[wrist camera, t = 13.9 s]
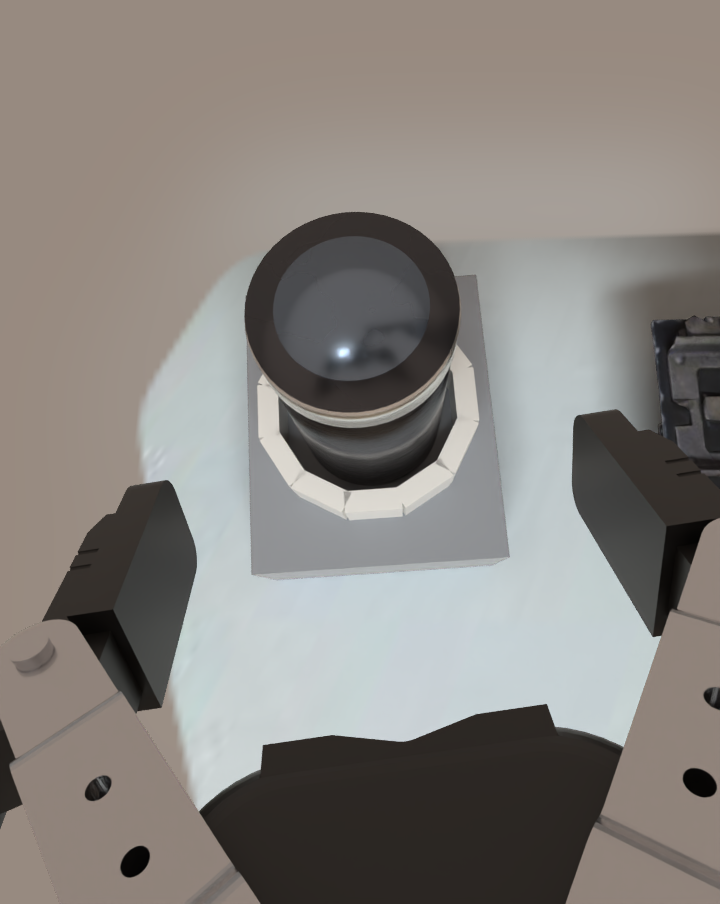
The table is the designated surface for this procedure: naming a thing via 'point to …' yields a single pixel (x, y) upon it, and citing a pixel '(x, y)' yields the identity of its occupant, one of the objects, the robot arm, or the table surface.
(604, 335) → the table surface
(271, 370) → the lens
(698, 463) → the vintage camera
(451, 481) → the grey base with ring
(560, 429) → the table surface
